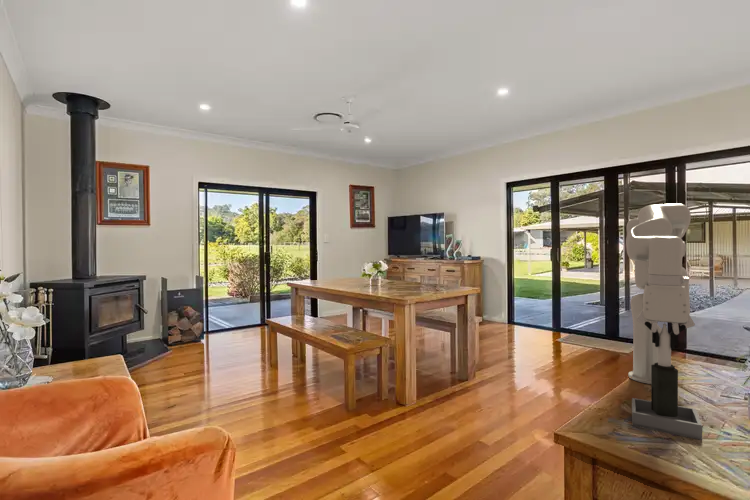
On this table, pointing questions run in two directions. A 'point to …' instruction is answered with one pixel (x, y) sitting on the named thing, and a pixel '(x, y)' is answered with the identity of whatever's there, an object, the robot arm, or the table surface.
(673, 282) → the robot arm
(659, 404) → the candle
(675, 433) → the tray
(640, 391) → the table surface
